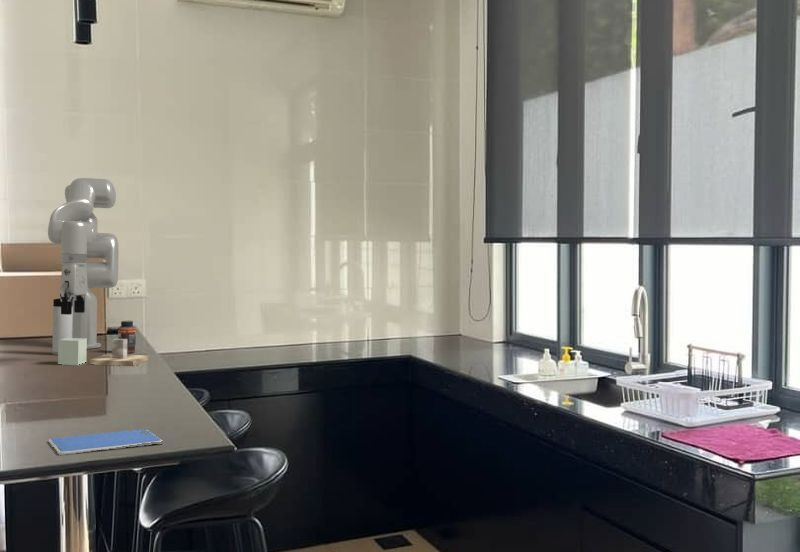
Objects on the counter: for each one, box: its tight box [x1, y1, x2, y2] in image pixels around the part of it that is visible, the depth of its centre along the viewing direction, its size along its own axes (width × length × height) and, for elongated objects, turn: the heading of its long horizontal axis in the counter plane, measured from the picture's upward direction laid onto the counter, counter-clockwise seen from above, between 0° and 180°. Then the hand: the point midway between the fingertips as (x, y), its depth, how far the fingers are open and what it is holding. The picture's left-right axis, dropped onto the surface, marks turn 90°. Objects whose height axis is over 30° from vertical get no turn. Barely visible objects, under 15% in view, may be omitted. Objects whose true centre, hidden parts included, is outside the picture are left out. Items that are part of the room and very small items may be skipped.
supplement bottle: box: [117, 320, 137, 354], centre depth 284 cm, size 6×6×11 cm
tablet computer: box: [47, 428, 163, 454], centre depth 157 cm, size 19×13×1 cm, turn 123°
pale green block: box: [57, 338, 88, 366], centre depth 255 cm, size 6×6×8 cm
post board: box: [89, 338, 149, 367], centre depth 261 cm, size 14×14×8 cm
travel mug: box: [52, 297, 74, 356], centre depth 275 cm, size 6×7×20 cm
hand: (72, 313), depth 255 cm, fingers open, 9 cm apart
